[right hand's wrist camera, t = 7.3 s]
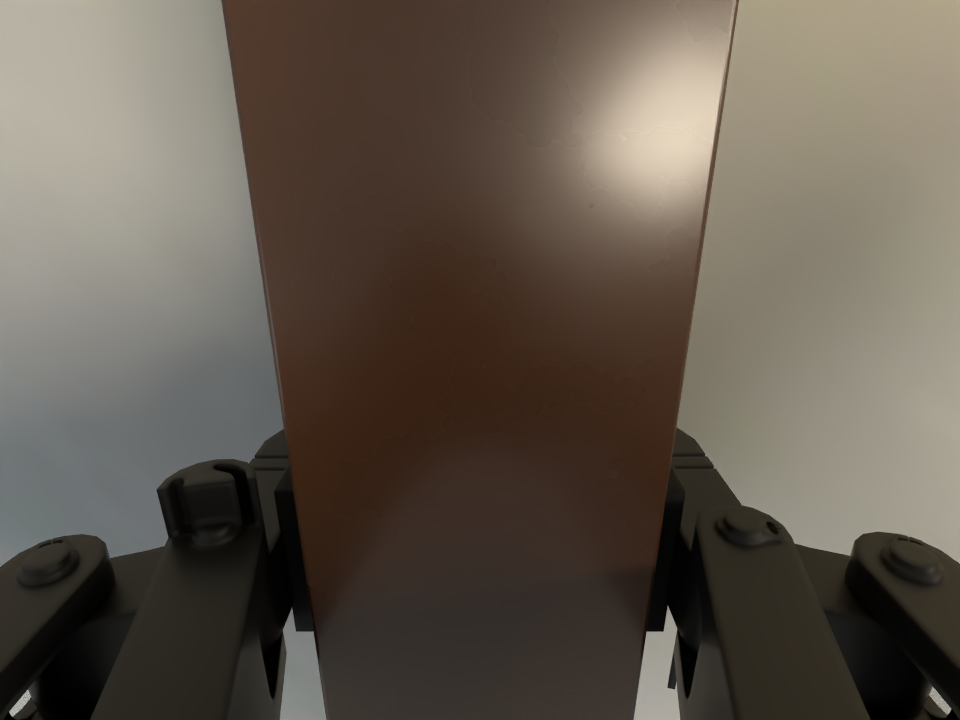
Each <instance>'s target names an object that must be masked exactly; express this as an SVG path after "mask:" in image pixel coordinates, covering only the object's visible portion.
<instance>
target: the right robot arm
mask: <svg viewBox="0 0 960 720" xmlns="http://www.w3.org/2000/svg"><path fill="white" fill-rule="evenodd" d="M157 493H158V497H159V501H160V505H161V509H162V513H163V517H164V521H165V525H166V529H167V533H168V537H169V538H168V540H167V543H166V545H165V546H163V547H160V548H156V549H152V550H148V551H143V552H138V553H134V554H129V555H124V556H119V557H114V558H110V557H109V553H108V550H107V547H106V544H105V543H104V542H103V541H102V540H101V539H99V538H98V537H96V536H90V535H84V534H80V535H71V536H62V537H58V538H54V539H52V540H47V541H44V542H41V543H39V544H37V545H36V546H33V547H31V548H29V549H27V550H25V551H23V552H21V553H19V554H18V555H16V556H15V557H13V558H12V559H11V560H9V561H8V562H6V563H5V564H3V565H2V566H1V567H0V720H280V711H281V701H282V692H283V682H284V672H285V663H286V647H285V640H284V634H283V628H284V626H285V623H286V621H287V618H288V616H289V613H290V611H291V608H292V609H293V615H294V621H295V627H296V631H314V630H313V623H312V616H311V609H310V603H309V596H308V589H307V582H306V575H305V568H304V562H303V555H302V548H301V541H300V534H299V527H298V520H297V514H296V507H295V500H294V493H293V486H292V479H291V473H290V466H289V459H288V452H287V445H286V438H285V431H284V429H283V430H281V431H280V432H278V433H277V434H275V435H274V436H272V437H271V438H269V439H268V440H266V441H265V442H264V444H263V445H262V446H261V448H260V449H259V451H258V452H257V453H256V455H255V459H252V460H251V462H250V463H249V464H248V463H247V462H243V461H239V460H234V459H222V460H212V461H207V462H202V463H198V464H195V465H192V466H190V467H187V468H185V469H182V470H180V471H178V472H177V473H175V474H173V475H172V476H170V477H169V478H167V479H166V480H165V481H164V482H163V483H162V484H161V485H160V486H159V488H158V489H157ZM667 606H669V609H670V611H671V614H672V616H673V619H674V621H675V624H676V626H677V634H676V640H675V646H674V652H673V658H672V663H671V669H670V675H669V681H668V688H671V689H675V686H676V681H677V690H678V700H679V709H680V719H681V720H960V564H959V563H958V562H956V561H955V560H954V559H952V558H951V557H949V556H948V555H946V554H945V553H944V552H942V551H941V550H939V549H937V548H934V547H932V546H930V545H928V544H926V543H924V542H923V541H921V540H918V539H915V538H912V537H907V536H905V535H900V534H894V533H885V532H873V533H867V534H863V535H861V536H860V537H859V538H858V539H856V540H855V542H854V545H853V548H852V552H851V555H850V556H847V555H843V554H838V553H833V552H828V551H823V550H818V549H814V548H809V547H805V546H801V545H798V544H794V542H793V539H792V537H791V536H790V534H789V533H788V531H787V530H786V529H785V527H784V526H783V525H782V524H780V523H779V522H778V521H776V520H775V519H774V518H772V517H771V516H769V515H767V514H765V513H763V512H760V511H758V510H756V509H754V508H750V507H746V506H742V505H741V503H740V502H739V501H738V499H737V498H736V496H735V495H734V494H733V492H732V491H731V489H730V488H729V487H728V485H727V484H726V482H725V481H724V480H723V478H722V477H721V475H720V474H719V473H718V471H717V470H716V469H714V466H713V464H712V463H711V462H710V460H709V459H708V457H705V453H704V452H703V450H702V449H701V448H700V446H699V445H698V443H697V442H696V441H695V439H693V438H692V437H690V436H689V435H687V434H686V433H684V432H683V431H681V430H680V429H678V428H677V427H676V432H675V439H674V446H673V453H672V460H671V467H670V473H669V480H668V487H667V494H666V501H665V508H664V514H663V521H662V528H661V535H660V542H659V549H658V555H657V562H656V569H655V576H654V583H653V590H652V596H651V603H650V610H649V617H648V624H647V631H664V625H665V618H666V612H667ZM932 686H933V687H934V688H935V689H936V691H937V692H938V693H939V694H940V695H941V697H942V698H943V699H944V700H945V701H946V703H947V704H948V705H949V706H950V707H951V712H950V713H949V714H948V715H947V714H946V713H945V712H944V711H943V710H941V709H940V708H939V707H938V706H937V704H936V703H935V702H934V701H933V699H932V698H931V697H930V696H929V694H930V691H931V689H932ZM27 689H28V690H29V692H30V695H31V698H30V700H29V701H28V702H27V703H26V705H25V706H24V707H23V708H22V709H21V710H20V711H19V712H18V713H17V714H16V715H14V716H13V717H12V716H11V715H10V713H9V711H10V710H11V709H12V707H13V706H14V705H15V704H16V703H17V701H18V700H19V699H20V698H21V697H22V695H23V694H24V693H25V692H26V691H27Z"/></svg>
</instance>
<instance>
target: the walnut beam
mask: <svg viewBox="0 0 960 720" xmlns="http://www.w3.org/2000/svg"><path fill="white" fill-rule="evenodd" d="M738 2H739V0H222V7H223V14H224V21H225V28H226V34H227V41H228V48H229V55H230V62H231V69H232V76H233V82H234V89H235V96H236V103H237V110H238V117H239V123H240V130H241V137H242V144H243V151H244V158H245V164H246V171H247V178H248V185H249V192H250V199H251V206H252V212H253V219H254V226H255V233H256V240H257V247H258V253H259V260H260V267H261V274H262V281H263V288H264V295H265V301H266V308H267V315H268V322H269V329H270V336H271V342H272V349H273V356H274V363H275V370H276V377H277V384H278V390H279V397H280V404H281V411H282V418H283V425H284V431H285V438H286V445H287V452H288V459H289V466H290V473H291V479H292V486H293V493H294V500H295V507H296V514H297V520H298V527H299V534H300V541H301V548H302V555H303V562H304V568H305V575H306V582H307V589H308V596H309V603H310V609H311V616H312V623H313V630H314V637H315V644H316V651H317V657H318V664H319V671H320V678H321V685H322V692H323V698H324V705H325V712H326V719H327V720H633V719H634V712H635V706H636V699H637V692H638V685H639V678H640V672H641V665H642V658H643V651H644V644H645V637H646V631H647V624H648V617H649V610H650V603H651V596H652V590H653V583H654V576H655V569H656V562H657V555H658V549H659V542H660V535H661V528H662V521H663V514H664V508H665V501H666V494H667V487H668V480H669V473H670V467H671V460H672V453H673V446H674V439H675V432H676V426H677V419H678V412H679V405H680V398H681V391H682V385H683V378H684V371H685V364H686V357H687V351H688V344H689V337H690V330H691V323H692V316H693V310H694V303H695V296H696V289H697V282H698V275H699V269H700V262H701V255H702V248H703V241H704V234H705V228H706V221H707V214H708V207H709V200H710V193H711V187H712V180H713V173H714V166H715V159H716V152H717V146H718V139H719V132H720V125H721V118H722V111H723V105H724V98H725V91H726V84H727V77H728V70H729V64H730V57H731V50H732V43H733V36H734V30H735V23H736V16H737V9H738Z"/></svg>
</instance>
